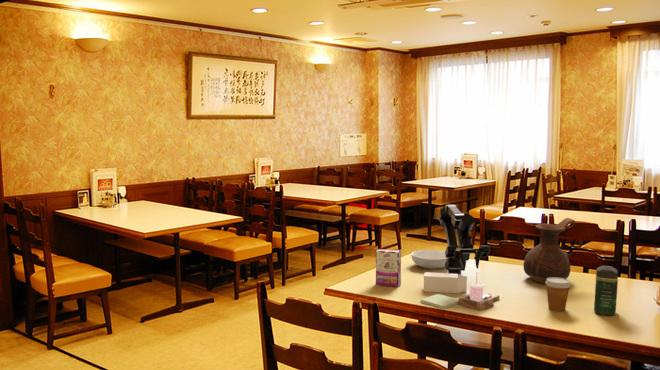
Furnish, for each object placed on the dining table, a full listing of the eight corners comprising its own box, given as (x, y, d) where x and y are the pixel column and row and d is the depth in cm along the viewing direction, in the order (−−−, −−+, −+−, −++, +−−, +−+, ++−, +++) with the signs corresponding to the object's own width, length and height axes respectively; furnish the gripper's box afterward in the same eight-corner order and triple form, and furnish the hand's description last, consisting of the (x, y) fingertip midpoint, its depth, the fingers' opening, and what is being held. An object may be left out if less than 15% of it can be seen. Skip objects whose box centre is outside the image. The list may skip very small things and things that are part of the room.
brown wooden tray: (483, 295, 244) (484, 288, 244) (504, 300, 237) (505, 293, 236) (458, 304, 231) (458, 297, 231) (479, 310, 224) (480, 303, 223)
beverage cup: (472, 301, 235) (473, 269, 234) (486, 304, 231) (487, 271, 230) (465, 305, 230) (466, 272, 229) (479, 308, 226) (480, 275, 225)
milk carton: (423, 291, 250) (466, 293, 246) (423, 276, 249) (467, 278, 246) (424, 287, 257) (466, 289, 253) (424, 272, 256) (466, 274, 252)
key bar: (486, 299, 238) (486, 294, 238) (491, 300, 236) (491, 295, 236) (478, 302, 234) (478, 296, 234) (483, 303, 232) (483, 298, 232)
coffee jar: (616, 317, 216) (618, 270, 214) (593, 314, 219) (595, 268, 217) (615, 310, 224) (618, 265, 222) (594, 307, 228) (596, 263, 226)
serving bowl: (410, 271, 286) (410, 258, 285) (411, 261, 306) (411, 249, 306) (452, 272, 282) (452, 259, 282) (450, 263, 303) (450, 250, 302)
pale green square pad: (437, 296, 243) (437, 293, 242) (461, 302, 234) (461, 300, 234) (420, 302, 235) (420, 299, 234) (444, 309, 226) (444, 306, 226)
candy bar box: (401, 284, 261) (401, 250, 260) (398, 287, 257) (398, 252, 255) (378, 282, 265) (378, 248, 264) (375, 284, 261) (375, 250, 259)
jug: (566, 289, 253) (569, 224, 250) (518, 282, 265) (520, 220, 262) (574, 278, 272) (576, 217, 269) (528, 272, 283) (530, 214, 280)
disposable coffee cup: (568, 306, 229) (569, 278, 228) (570, 313, 220) (571, 284, 219) (543, 304, 232) (545, 276, 231) (544, 311, 223) (545, 282, 222)
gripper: (480, 247, 254) (487, 277, 244) (440, 247, 253) (445, 277, 243) (486, 233, 245) (494, 264, 235) (444, 234, 244) (450, 264, 235)
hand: (471, 268), depth 237 cm, fingers open, 5 cm apart
